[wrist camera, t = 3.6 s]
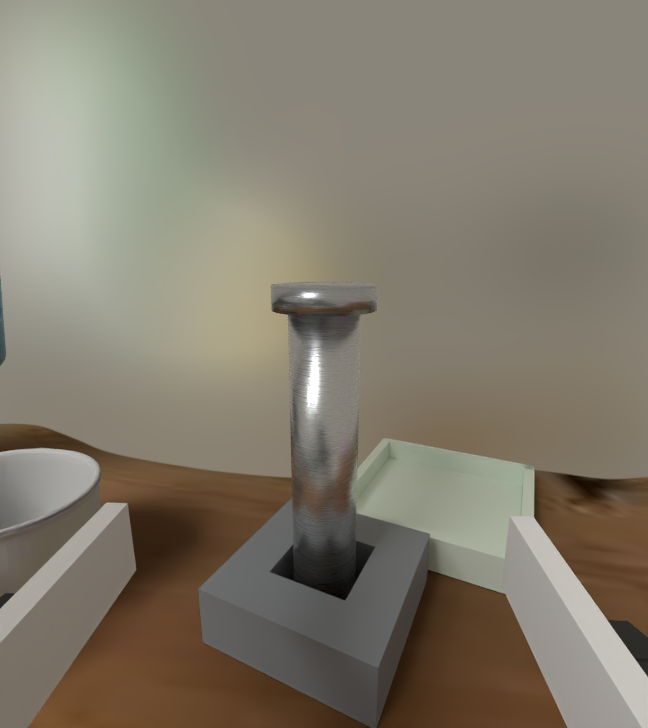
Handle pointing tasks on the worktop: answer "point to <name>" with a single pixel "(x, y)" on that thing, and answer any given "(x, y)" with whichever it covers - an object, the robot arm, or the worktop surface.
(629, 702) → the robot arm
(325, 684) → the socket block
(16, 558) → the teacup
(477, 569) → the tray
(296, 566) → the pin
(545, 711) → the worktop surface
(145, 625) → the worktop surface
